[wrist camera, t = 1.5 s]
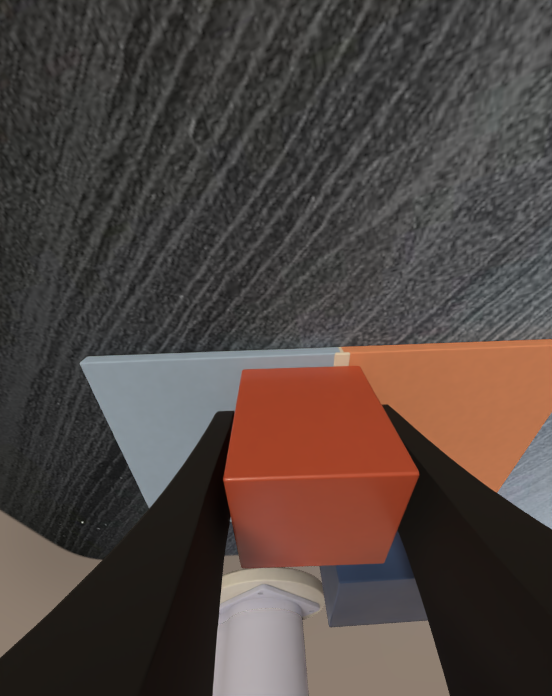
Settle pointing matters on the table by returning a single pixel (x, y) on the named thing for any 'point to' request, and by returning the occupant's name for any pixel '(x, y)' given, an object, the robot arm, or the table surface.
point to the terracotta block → (314, 469)
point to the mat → (375, 361)
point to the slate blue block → (373, 591)
